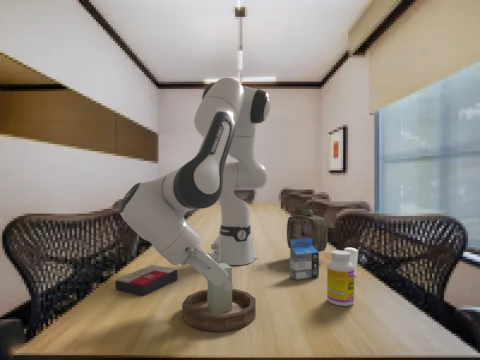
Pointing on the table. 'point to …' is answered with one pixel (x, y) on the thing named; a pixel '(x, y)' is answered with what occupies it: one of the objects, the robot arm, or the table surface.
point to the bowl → (205, 320)
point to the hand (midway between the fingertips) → (221, 282)
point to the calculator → (146, 280)
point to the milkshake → (353, 257)
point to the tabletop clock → (308, 228)
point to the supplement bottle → (340, 279)
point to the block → (220, 294)
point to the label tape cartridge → (303, 259)
